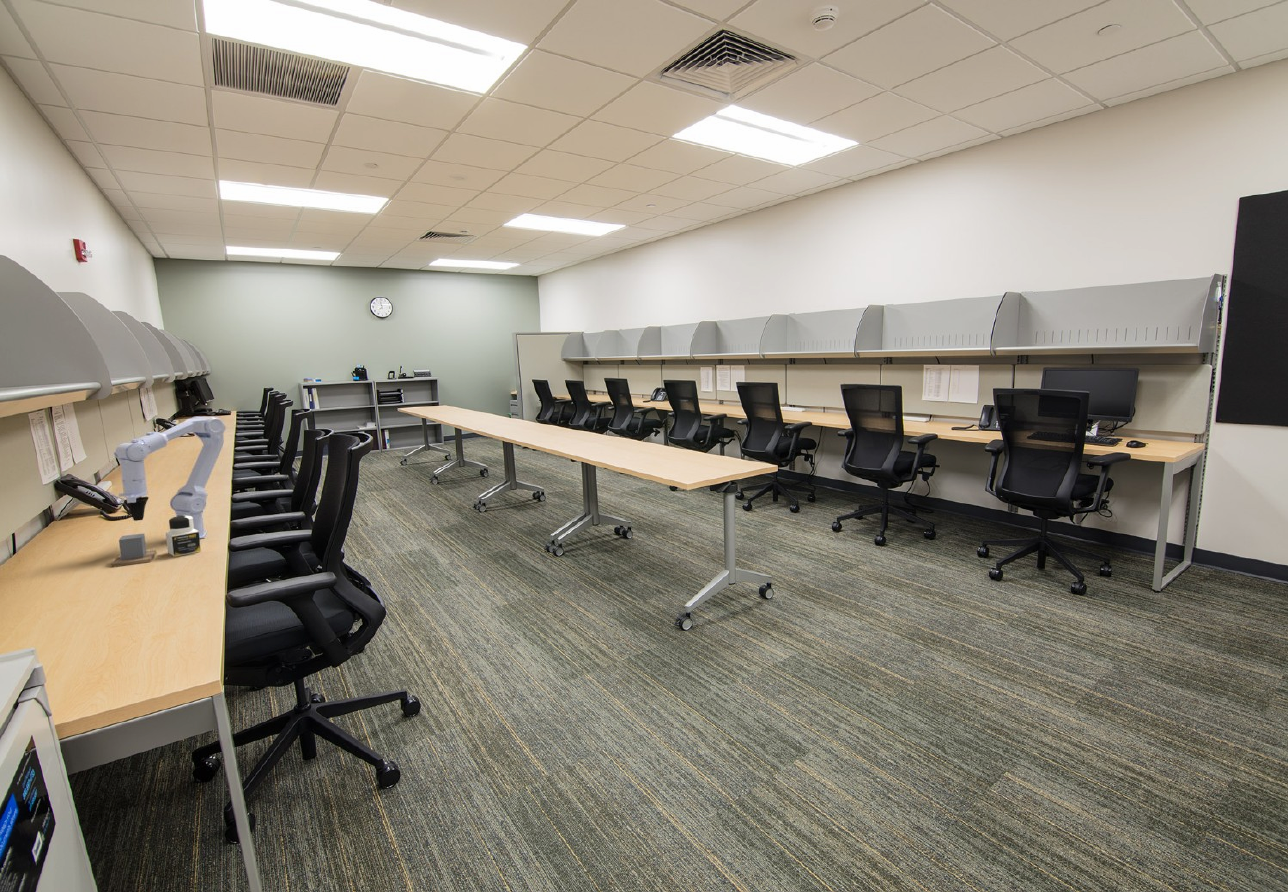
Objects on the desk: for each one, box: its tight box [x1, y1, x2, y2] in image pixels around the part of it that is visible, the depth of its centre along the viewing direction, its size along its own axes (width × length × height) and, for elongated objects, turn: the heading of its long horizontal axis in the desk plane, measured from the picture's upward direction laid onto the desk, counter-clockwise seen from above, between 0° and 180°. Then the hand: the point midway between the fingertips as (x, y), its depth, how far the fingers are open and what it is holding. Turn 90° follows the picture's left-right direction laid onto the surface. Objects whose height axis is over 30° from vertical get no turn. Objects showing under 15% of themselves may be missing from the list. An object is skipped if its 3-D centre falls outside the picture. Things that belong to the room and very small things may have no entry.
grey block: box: [118, 532, 147, 561], centre depth 177 cm, size 5×5×7 cm
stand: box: [111, 549, 157, 568], centre depth 177 cm, size 10×9×6 cm
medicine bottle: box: [165, 516, 202, 558], centre depth 184 cm, size 7×7×12 cm
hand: (138, 520), depth 185 cm, fingers closed
